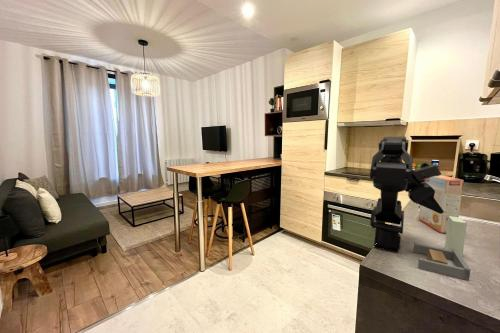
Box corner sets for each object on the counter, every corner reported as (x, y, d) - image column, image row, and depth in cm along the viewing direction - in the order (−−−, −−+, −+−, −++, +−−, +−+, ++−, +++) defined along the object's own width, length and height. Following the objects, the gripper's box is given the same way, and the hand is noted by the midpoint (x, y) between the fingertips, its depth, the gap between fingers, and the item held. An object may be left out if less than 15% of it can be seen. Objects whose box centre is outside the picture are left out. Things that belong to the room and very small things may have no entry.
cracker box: (458, 234, 78) (464, 179, 76) (439, 233, 80) (445, 178, 77) (433, 220, 92) (438, 173, 89) (418, 219, 93) (422, 173, 91)
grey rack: (418, 268, 58) (419, 257, 58) (413, 250, 67) (414, 241, 67) (468, 280, 53) (470, 269, 52) (455, 259, 62) (456, 250, 62)
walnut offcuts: (431, 270, 57) (432, 260, 57) (426, 257, 64) (428, 248, 63) (448, 275, 56) (450, 264, 55) (442, 261, 62) (443, 251, 62)
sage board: (448, 255, 64) (452, 221, 63) (444, 248, 69) (448, 215, 67) (462, 258, 63) (466, 223, 61) (457, 250, 67) (461, 217, 66)
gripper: (428, 157, 59) (478, 201, 55) (418, 153, 75) (456, 187, 71) (392, 181, 64) (435, 223, 60) (389, 173, 80) (424, 206, 76)
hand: (438, 208), depth 66 cm, fingers open, 9 cm apart
